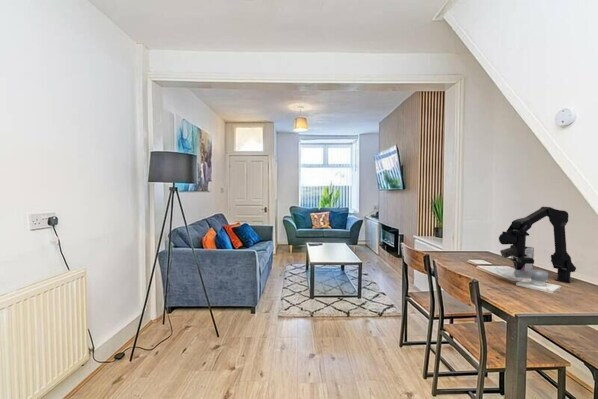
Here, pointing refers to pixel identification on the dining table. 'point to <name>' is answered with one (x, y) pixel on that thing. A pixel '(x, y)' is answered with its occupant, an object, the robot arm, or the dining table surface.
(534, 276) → the duct elbow
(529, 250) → the candy bar box
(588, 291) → the dining table surface
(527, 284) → the duct base
